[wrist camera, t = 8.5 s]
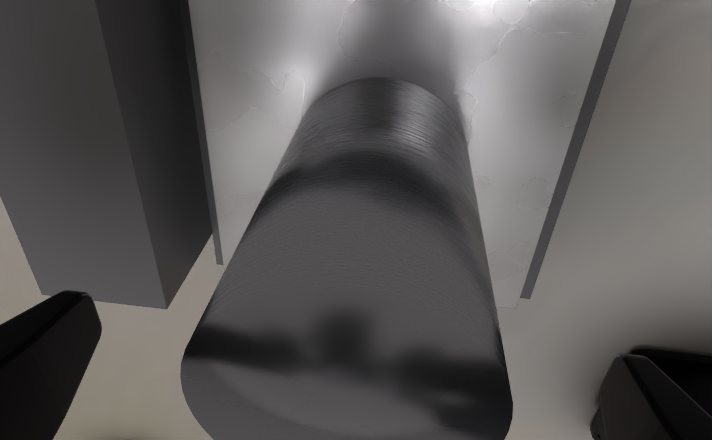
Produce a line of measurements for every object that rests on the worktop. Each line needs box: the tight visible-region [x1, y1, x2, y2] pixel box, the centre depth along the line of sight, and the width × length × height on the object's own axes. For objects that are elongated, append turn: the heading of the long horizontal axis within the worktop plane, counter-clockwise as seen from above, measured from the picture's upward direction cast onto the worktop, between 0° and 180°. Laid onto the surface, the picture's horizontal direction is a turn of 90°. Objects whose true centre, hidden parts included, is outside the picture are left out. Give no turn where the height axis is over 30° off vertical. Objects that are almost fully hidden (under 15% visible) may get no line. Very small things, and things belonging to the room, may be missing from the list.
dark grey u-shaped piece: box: [0, 0, 631, 309], centre depth 15 cm, size 16×12×6 cm
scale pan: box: [188, 0, 616, 309], centre depth 14 cm, size 10×10×1 cm
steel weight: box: [181, 77, 513, 440], centre depth 11 cm, size 5×5×8 cm
